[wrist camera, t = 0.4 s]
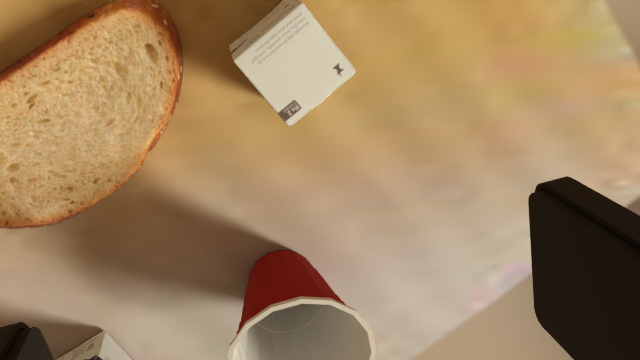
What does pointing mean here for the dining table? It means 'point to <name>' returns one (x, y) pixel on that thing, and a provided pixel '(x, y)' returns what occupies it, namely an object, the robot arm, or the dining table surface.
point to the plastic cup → (297, 316)
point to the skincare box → (291, 60)
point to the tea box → (97, 350)
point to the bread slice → (85, 111)
